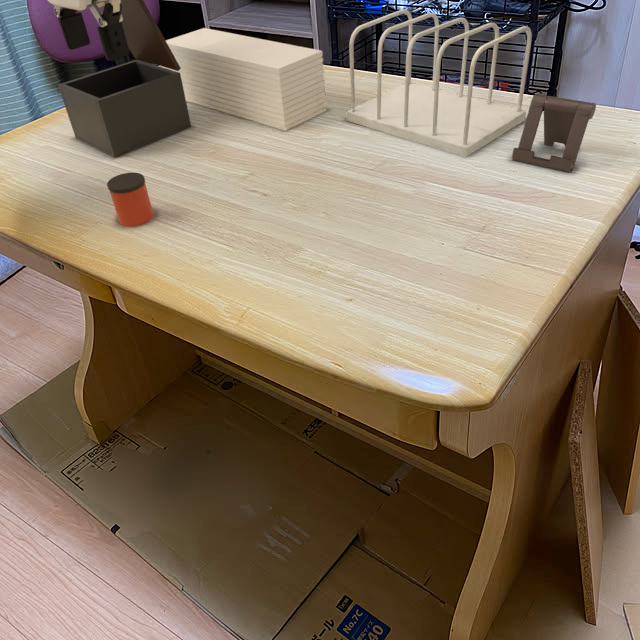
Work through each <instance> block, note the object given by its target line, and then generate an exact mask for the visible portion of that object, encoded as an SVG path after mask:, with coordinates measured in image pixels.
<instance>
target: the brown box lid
mask: <svg viewBox="0 0 640 640" xmlns="http://www.w3.org/2000/svg"><path fill="white" fill-rule="evenodd" d="M121 5H122V12H121V15H122V17H123V21H122V26H123V29H124V33H125V37H126V41H127V44H128V48H129V52H130V53H131V54H132V56H133V57H134V59H135V60H140V61H143V62H146V63H149V64H153V65H156V66H159V67H163V68H166V69H168V68H169V69H173V70H176V71H179V70H180V69H181V68H180V66H179V64H178V62H177V60H176V59H175V57H174V55H173V53H172V51H171V50H170V48H169V46H168V44H167V42H166V39H165V36H164V35H163V33H162V32H161V30H160V28H159V26H158V24H157V23H156V21H155V19H154V17H153V15H152V13H151V11H150V10H149V8H148V6H147V4H146V3H145V0H121Z"/></svg>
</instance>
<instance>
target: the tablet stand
mask: <svg viewBox="0 0 640 640" xmlns="http://www.w3.org/2000/svg"><path fill="white" fill-rule="evenodd" d="M596 108H597V104H596V103H594V102H590V101H589V102H588V101H582V100H576V99H571V98H564V97H558V96H552V95H545V94H539V93H535V94H534V95H532V98H531V101H530V104H529V108H528V112H527V114H526V120H525V121H524V126H523V129H522V133H521V135H520V140H519V144H518V147H513V150H512V155H511V160H512V161H516V162H519V163H520V162H521V163H525V164H530V165H533V166H534V165H535V166H539V167H542V168H548V169H550V170H551V169H552V170H556V171H560V172H564V173H565V172H566V173H571V172H572V171H573V170H574V168H575V164H576V161H577V159H578V155H579V153H580V149H581V146H582V142H583V139H584V137H585V133H586V130H587V127H588V124H589V121H590V120H592V119H593V117H594V115H595V112H596ZM542 114H543V145H544V146H549V147H554V145H555V143H557V144H562V145H564V151H563V153H562V157H561V156H558V155H552V154H551V155H550V158H545V157H540V156H535V151H534V150H533V149H532V148H533V145H534V142H535V138H536V135H537V132H538V127H539V124H540V121H541V118H542Z"/></svg>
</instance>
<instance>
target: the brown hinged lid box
mask: <svg viewBox="0 0 640 640" xmlns="http://www.w3.org/2000/svg"><path fill="white" fill-rule="evenodd" d="M57 86H58V90H59V92H60V95H61V98H62V102H63V104H64V108H65V110H66V114H67V116H68V119H69V122H70V125H71V128H72V132H73V135H74V137H75V139H76V140H78V141H80V142H82V143H84V144H86V145H88V146H90V147H92V148H94V149H96V150H98V151H100V152H102V153H104V154H106V155H108V156H109V157H112V158H114V159H116V158H119V157H121V156H124V155H127V154H130V153H131V152H133V151H136V150H139V149H141V148H143V147H147V146H148V145H149V146H150V145H151V144H153V143H157V142H158V141H160V140H163V139H166V138H168V137H171V136H174V135H176V134H178V133H181V132H183V131H185V130H187V129H190V128H192V122H191V118H190V113H189V109H188V104H187V101H186V99H185V94H184V89H183V84H182V80H181V75H180V73H179V72H176V71H172V70H169V69H168V68H166V67H163V66H159V65H156V64H153V63H150V62H146V61H143V60H140V59H134V60H131V61H128V62H125V63H122V64H118V65H115V66H112V67H109V68H106V69H101V70H99V71H96V72H93V73H90V74H87V75H84V76H81V77H79V78H78V77H77V78H74V79H71V80H68V81H65V82H62V83H59V84H57Z"/></svg>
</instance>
